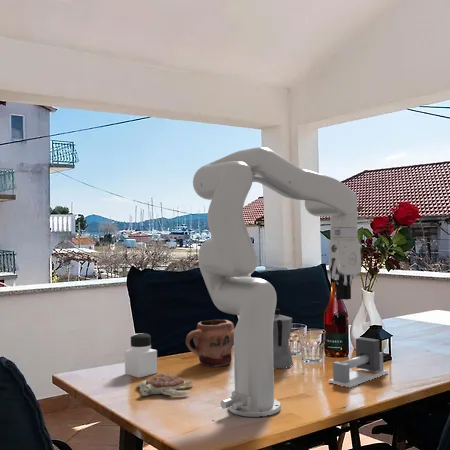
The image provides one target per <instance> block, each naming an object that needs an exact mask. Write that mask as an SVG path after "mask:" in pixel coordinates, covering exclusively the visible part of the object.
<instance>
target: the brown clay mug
mask: <svg viewBox="0 0 450 450" xmlns="http://www.w3.org/2000/svg"><path fill="white" fill-rule="evenodd" d="M234 331H235V325H234V322H232V321H230V320H228V319H211V320H203V321H200V322H198V323H197V325H196V329H195V330H191V331H190V332H189V333H187V335H186V338H185V345H186V346H187V348H188V349H189V351H190V352H191V353H192V354H195V355H196V356H197V357H198V359H199V362H200V364H201V365H202V366H206V367H220V366H225V365H229V364H231V362H232V349H233V347H234ZM192 339H193V342H194V345H195V348H193V347H192V346H191V340H192Z"/></svg>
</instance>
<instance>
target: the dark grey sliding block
mask: <svg viewBox="0 0 450 450" xmlns="http://www.w3.org/2000/svg"><path fill="white" fill-rule="evenodd" d="M380 350H381V349H380V339H376V338H370V337H369V338H368V337H363V336H360V337H356V338H355V355H356V356H355V357H358V356H362V355H365V354H369V355H370V362H368V363H365V364H362V365H359V366H356V369H365V370H370V371H377V370H379V369H380V352H381V351H380Z"/></svg>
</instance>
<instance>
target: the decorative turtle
mask: <svg viewBox="0 0 450 450" xmlns="http://www.w3.org/2000/svg"><path fill="white" fill-rule="evenodd" d="M193 385H194V381H193V380H184V379H183V378H181V377H179V376H177V375H174V374H169V373H159V374H156V375H155V374H154V376H151V377H150V378H148V379H145V380H142V381H140V382H138V383H137V384H136V386H137V387H138V388H139V395H140V396H142V397H147V396H151V395H162V394H163V395H167V396H171V397H183V396H186V395H188V394H190V393H191V391H190V390H187V389H185V390H179V389H180V388H181V387H183V386H184V387H189V386H193Z"/></svg>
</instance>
